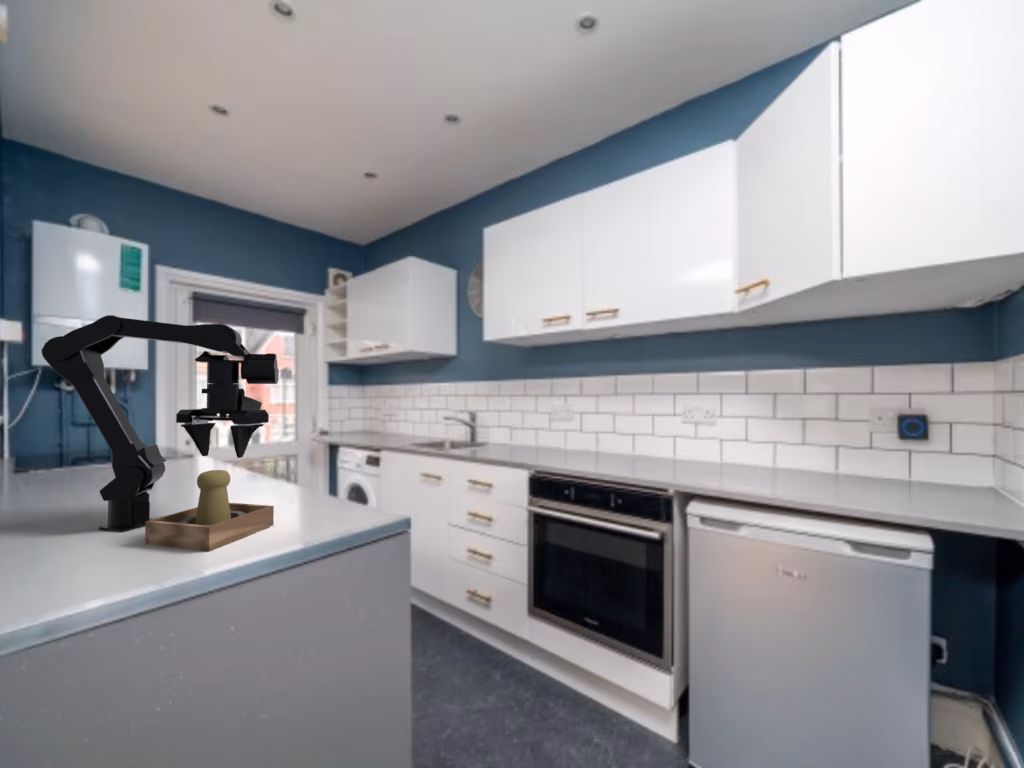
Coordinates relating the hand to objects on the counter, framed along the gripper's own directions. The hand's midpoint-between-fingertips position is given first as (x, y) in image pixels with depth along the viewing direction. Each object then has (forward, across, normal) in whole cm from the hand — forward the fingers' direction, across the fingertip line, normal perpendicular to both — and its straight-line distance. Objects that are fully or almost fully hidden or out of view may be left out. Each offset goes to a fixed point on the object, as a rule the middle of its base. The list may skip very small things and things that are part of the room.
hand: (222, 456), depth 91 cm
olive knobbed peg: (+12, -8, +9) cm, 17 cm away
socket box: (+13, -8, +9) cm, 18 cm away
